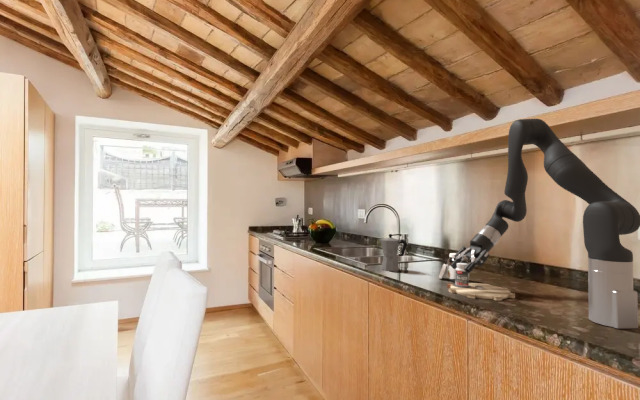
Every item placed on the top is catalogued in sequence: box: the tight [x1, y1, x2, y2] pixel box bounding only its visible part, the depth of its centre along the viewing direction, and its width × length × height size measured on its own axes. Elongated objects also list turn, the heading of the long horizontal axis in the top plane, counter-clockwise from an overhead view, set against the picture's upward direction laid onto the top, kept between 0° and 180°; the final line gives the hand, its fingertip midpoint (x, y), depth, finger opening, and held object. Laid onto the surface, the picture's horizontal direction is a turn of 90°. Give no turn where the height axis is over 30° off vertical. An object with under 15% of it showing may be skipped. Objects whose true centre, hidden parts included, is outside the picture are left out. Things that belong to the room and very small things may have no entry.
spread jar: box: [438, 252, 470, 283], centre depth 141 cm, size 12×11×12 cm
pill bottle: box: [454, 263, 470, 287], centre depth 126 cm, size 5×5×8 cm
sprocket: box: [446, 282, 516, 301], centre depth 121 cm, size 23×23×2 cm
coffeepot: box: [378, 233, 408, 272], centre depth 165 cm, size 15×9×18 cm, turn 51°
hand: (459, 269), depth 125 cm, fingers open, 8 cm apart
